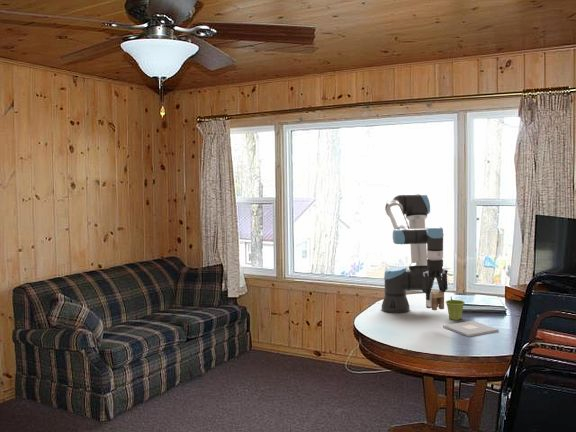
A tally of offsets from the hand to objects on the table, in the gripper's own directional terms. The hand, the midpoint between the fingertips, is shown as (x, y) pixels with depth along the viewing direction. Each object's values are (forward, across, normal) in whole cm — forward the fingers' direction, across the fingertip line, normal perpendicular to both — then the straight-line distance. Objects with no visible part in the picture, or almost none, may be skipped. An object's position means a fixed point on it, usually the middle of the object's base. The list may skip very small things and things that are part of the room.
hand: (434, 305), depth 279 cm
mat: (+10, +12, -12) cm, 20 cm away
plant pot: (+11, +19, +7) cm, 23 cm away
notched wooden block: (+1, 0, 0) cm, 1 cm away
